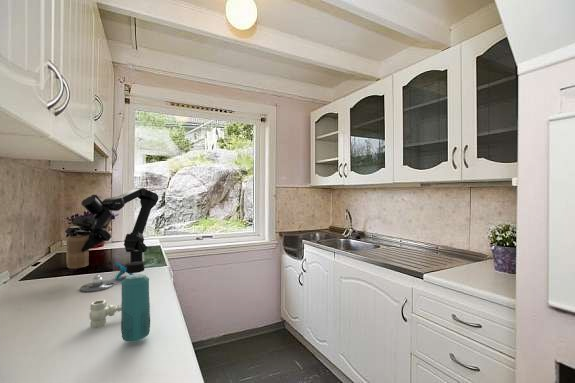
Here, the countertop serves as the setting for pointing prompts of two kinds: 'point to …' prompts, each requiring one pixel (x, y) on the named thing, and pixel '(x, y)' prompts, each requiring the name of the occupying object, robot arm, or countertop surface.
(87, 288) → the hub
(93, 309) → the valve
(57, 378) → the countertop surface
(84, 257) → the sleeve
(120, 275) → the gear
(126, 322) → the beverage bottle
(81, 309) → the countertop surface
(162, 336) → the countertop surface
